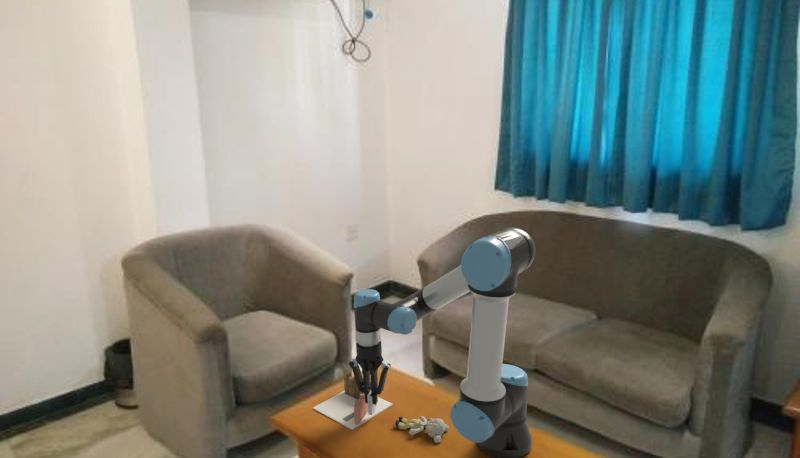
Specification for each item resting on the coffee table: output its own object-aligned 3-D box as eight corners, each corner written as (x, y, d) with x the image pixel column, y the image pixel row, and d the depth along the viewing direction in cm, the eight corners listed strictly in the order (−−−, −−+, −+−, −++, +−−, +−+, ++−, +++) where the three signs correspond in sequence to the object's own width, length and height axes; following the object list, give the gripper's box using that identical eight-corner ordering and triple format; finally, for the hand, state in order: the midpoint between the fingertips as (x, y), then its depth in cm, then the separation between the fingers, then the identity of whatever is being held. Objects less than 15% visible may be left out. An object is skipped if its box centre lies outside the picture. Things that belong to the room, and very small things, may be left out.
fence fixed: (376, 405, 188) (375, 383, 186) (371, 407, 187) (371, 385, 185) (348, 391, 197) (347, 370, 195) (343, 394, 195) (342, 372, 193)
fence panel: (367, 406, 187) (366, 386, 185) (371, 407, 186) (370, 387, 184) (354, 423, 177) (353, 402, 176) (358, 424, 177) (357, 403, 175)
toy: (403, 406, 180) (448, 412, 174) (405, 422, 182) (450, 429, 175) (390, 421, 173) (437, 427, 166) (392, 438, 174) (439, 445, 167)
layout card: (392, 404, 188) (392, 403, 188) (352, 429, 175) (352, 428, 175) (353, 386, 200) (353, 385, 200) (312, 408, 187) (312, 407, 187)
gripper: (393, 338, 175) (395, 409, 181) (353, 333, 180) (357, 403, 185) (384, 349, 169) (387, 422, 174) (343, 344, 173) (347, 415, 179)
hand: (371, 412), depth 180 cm, fingers closed
